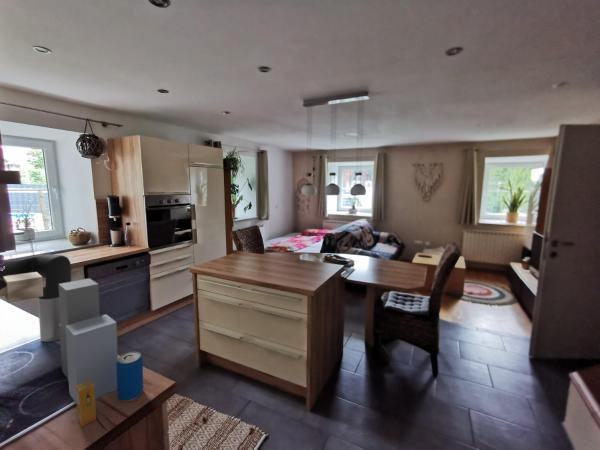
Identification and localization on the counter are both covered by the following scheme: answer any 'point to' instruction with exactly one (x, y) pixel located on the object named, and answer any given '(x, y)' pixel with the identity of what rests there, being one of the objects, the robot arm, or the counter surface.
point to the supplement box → (85, 402)
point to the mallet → (22, 287)
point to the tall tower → (76, 309)
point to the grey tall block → (92, 354)
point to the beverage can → (129, 376)
